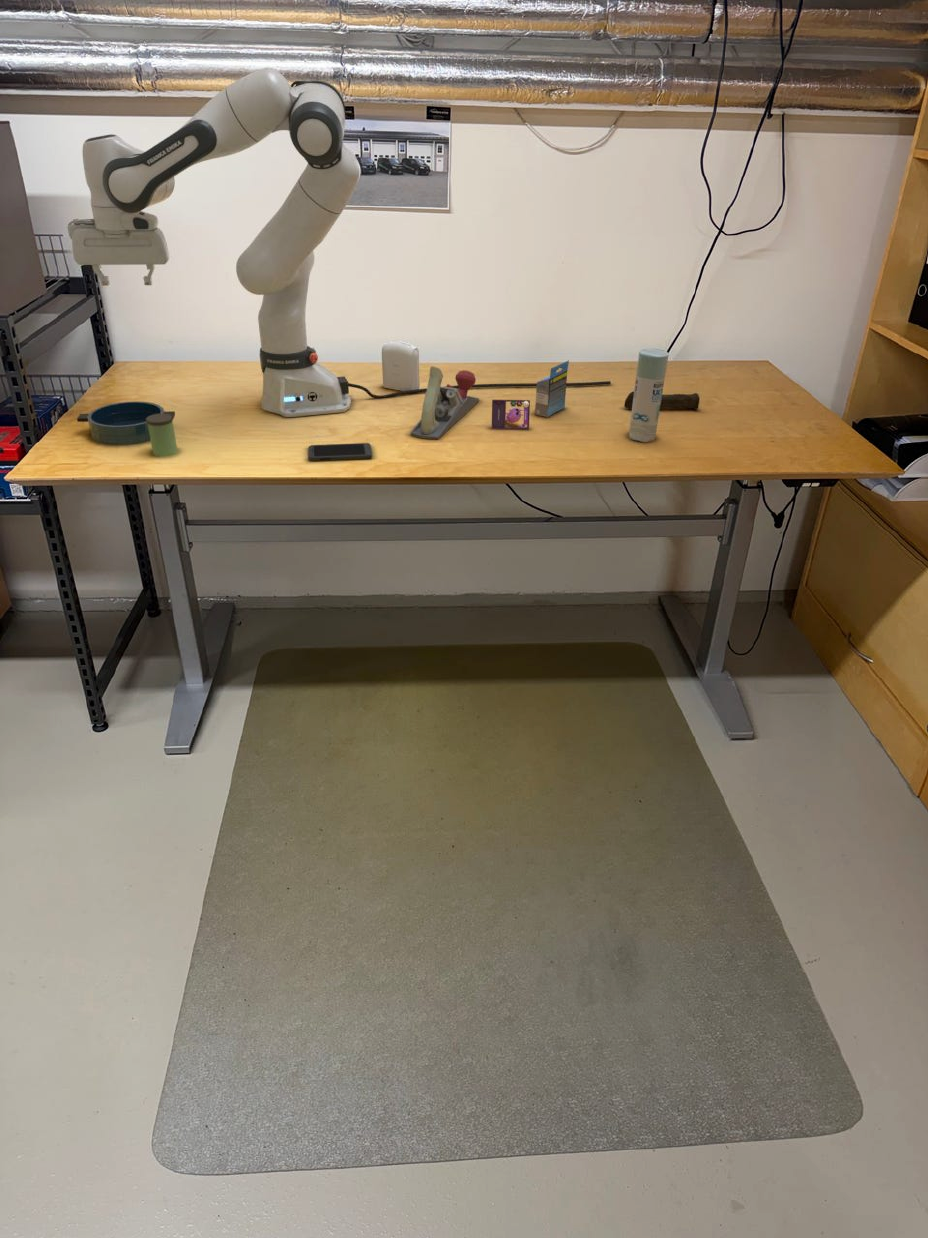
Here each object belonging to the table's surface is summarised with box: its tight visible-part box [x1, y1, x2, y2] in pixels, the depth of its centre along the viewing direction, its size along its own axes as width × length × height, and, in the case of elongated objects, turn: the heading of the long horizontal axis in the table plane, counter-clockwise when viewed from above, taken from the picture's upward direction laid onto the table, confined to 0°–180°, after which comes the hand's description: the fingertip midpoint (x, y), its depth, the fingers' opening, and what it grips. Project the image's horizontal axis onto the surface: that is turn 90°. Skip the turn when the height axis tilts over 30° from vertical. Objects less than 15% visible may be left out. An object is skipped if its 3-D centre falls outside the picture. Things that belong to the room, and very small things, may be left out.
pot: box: [87, 400, 166, 446], centre depth 198 cm, size 17×17×4 cm
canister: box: [146, 414, 178, 458], centre depth 188 cm, size 5×5×8 cm
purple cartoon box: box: [491, 399, 531, 430], centre depth 207 cm, size 7×5×9 cm
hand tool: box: [623, 390, 700, 411], centre depth 220 cm, size 19×4×5 cm, turn 92°
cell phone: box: [307, 442, 373, 462], centre depth 191 cm, size 7×14×1 cm, turn 99°
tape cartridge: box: [534, 360, 570, 418], centre depth 214 cm, size 9×4×12 cm, turn 145°
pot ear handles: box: [76, 410, 176, 423], centre depth 197 cm, size 21×3×1 cm, turn 98°
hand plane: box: [410, 365, 480, 440], centre depth 208 cm, size 7×31×15 cm, turn 160°
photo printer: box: [381, 340, 421, 392], centre depth 226 cm, size 10×4×12 cm, turn 63°
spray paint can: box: [628, 348, 669, 443], centre depth 198 cm, size 6×6×20 cm
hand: (127, 284), depth 197 cm, fingers open, 8 cm apart
